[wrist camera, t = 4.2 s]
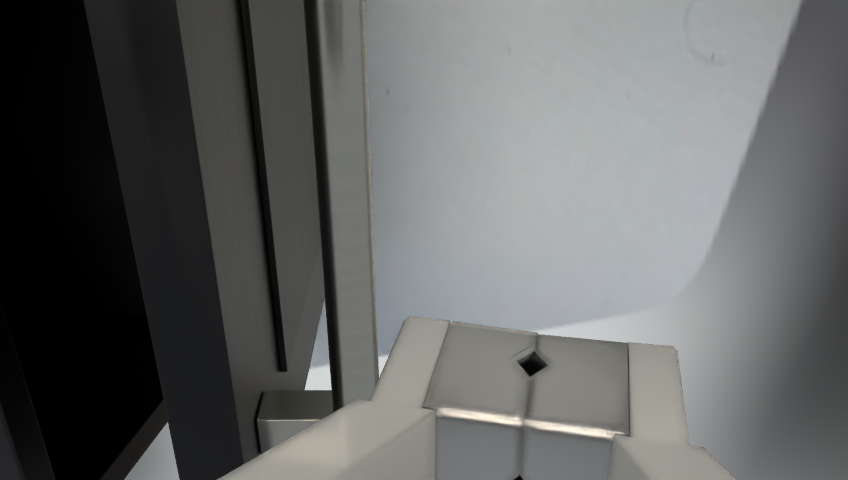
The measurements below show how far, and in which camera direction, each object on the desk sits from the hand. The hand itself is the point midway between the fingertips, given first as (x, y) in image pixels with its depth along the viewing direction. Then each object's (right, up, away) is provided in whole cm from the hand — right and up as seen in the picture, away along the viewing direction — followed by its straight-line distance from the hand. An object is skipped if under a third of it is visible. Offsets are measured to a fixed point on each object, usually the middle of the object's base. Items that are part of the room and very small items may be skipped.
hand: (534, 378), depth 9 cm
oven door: (-5, +11, +21) cm, 25 cm away
